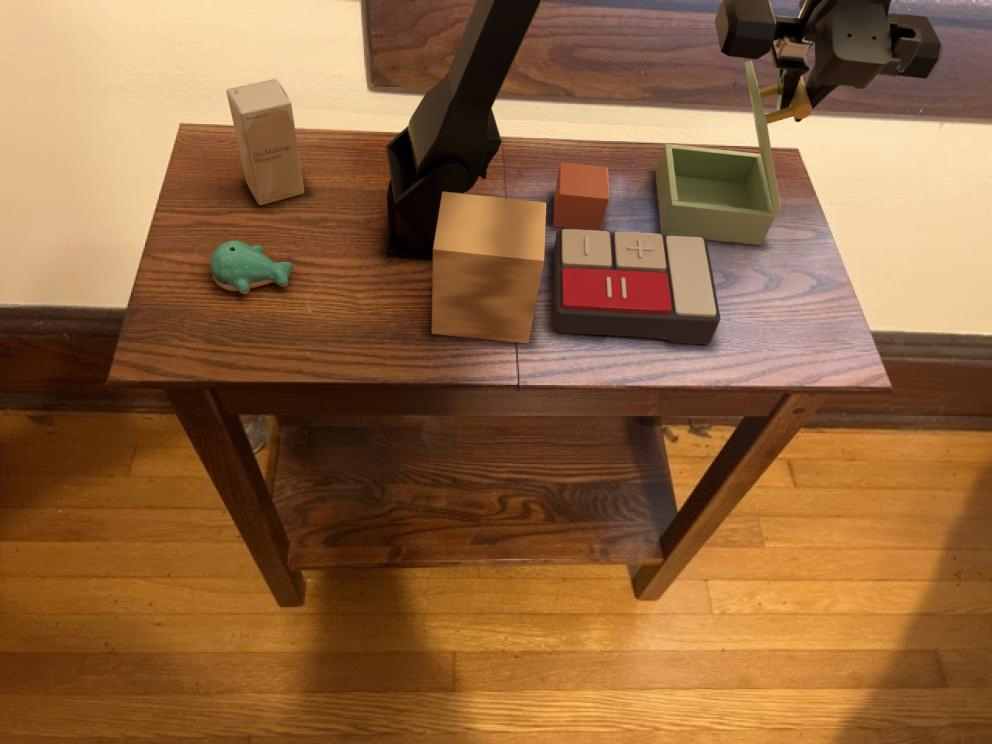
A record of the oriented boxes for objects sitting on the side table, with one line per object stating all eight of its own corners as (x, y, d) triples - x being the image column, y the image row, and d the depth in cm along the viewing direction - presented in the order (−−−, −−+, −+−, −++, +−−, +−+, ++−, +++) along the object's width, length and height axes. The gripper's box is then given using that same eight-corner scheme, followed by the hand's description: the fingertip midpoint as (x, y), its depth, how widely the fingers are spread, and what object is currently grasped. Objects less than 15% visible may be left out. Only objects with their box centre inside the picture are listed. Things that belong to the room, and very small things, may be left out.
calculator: (557, 222, 72) (708, 230, 72) (552, 254, 76) (697, 261, 76) (557, 307, 66) (724, 316, 66) (553, 337, 69) (711, 345, 69)
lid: (758, 124, 66) (815, 107, 65) (744, 62, 72) (795, 45, 70) (774, 214, 75) (824, 201, 73) (759, 152, 81) (806, 138, 79)
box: (259, 207, 76) (236, 114, 67) (245, 181, 78) (221, 88, 69) (307, 193, 77) (292, 100, 68) (293, 168, 79) (276, 76, 70)
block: (553, 226, 77) (559, 193, 74) (554, 195, 80) (560, 162, 77) (600, 231, 78) (608, 199, 74) (599, 200, 80) (607, 167, 77)
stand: (431, 334, 68) (432, 249, 59) (439, 278, 72) (442, 191, 63) (528, 343, 68) (544, 260, 59) (531, 288, 72) (546, 202, 63)
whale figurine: (226, 251, 72) (217, 222, 68) (300, 262, 72) (295, 233, 68) (205, 295, 68) (195, 267, 65) (283, 307, 68) (277, 279, 65)
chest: (661, 235, 78) (671, 204, 75) (655, 173, 84) (665, 143, 80) (760, 245, 78) (776, 216, 75) (748, 184, 84) (761, 154, 81)
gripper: (766, -12, 54) (701, 161, 66) (1014, 17, 54) (902, 183, 67) (746, -80, 60) (690, 89, 73) (967, -53, 61) (873, 110, 73)
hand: (787, 118), depth 71 cm, fingers closed on lid
